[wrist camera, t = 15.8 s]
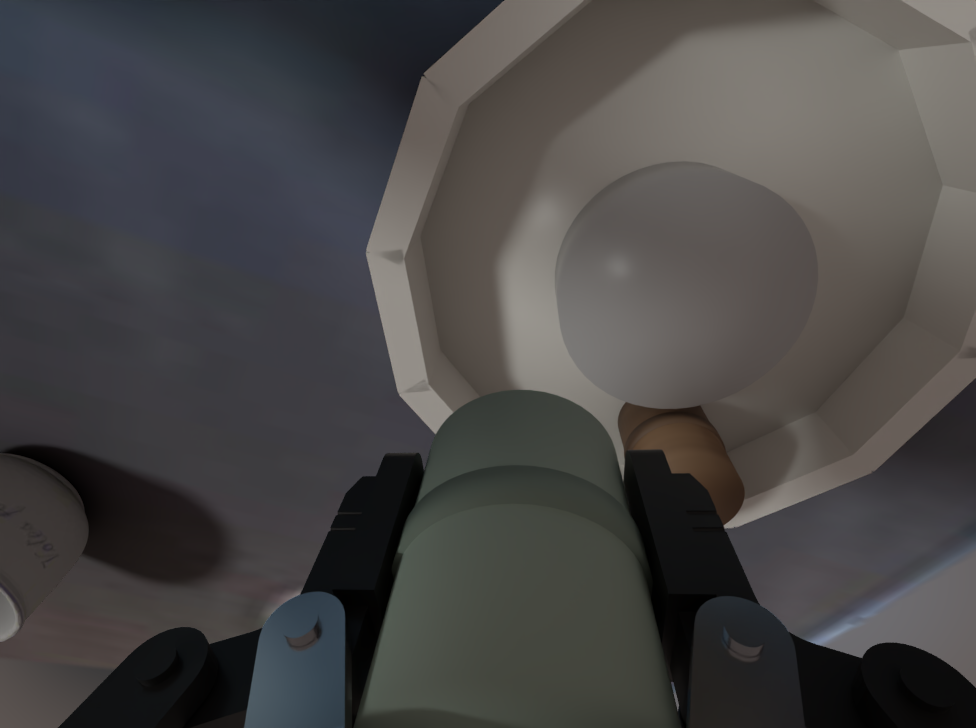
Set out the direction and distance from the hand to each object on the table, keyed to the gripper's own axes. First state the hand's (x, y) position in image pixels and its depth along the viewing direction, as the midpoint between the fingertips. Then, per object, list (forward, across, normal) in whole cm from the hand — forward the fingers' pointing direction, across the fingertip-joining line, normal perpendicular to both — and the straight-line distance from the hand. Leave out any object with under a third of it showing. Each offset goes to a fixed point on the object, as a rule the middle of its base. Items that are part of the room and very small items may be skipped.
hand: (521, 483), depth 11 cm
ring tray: (+15, -6, 0) cm, 17 cm away
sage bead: (+1, 0, 0) cm, 1 cm away
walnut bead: (+14, -7, +8) cm, 18 cm away
